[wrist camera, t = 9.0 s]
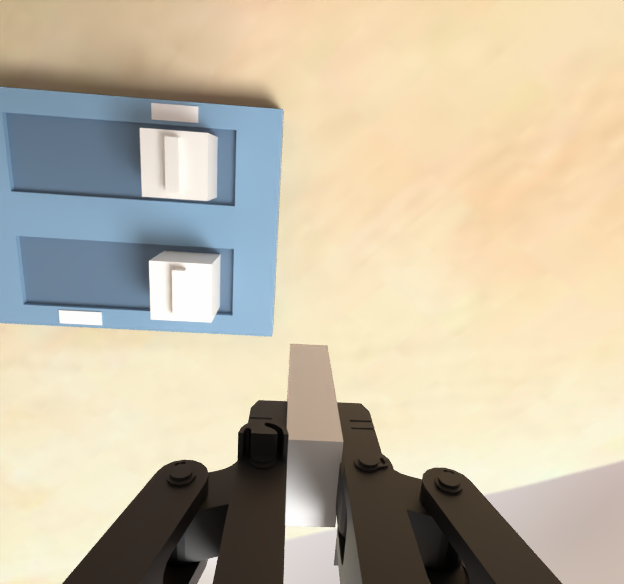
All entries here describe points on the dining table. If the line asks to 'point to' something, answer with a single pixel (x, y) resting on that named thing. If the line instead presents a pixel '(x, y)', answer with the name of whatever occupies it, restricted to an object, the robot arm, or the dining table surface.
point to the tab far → (184, 286)
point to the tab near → (178, 164)
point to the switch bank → (130, 211)
